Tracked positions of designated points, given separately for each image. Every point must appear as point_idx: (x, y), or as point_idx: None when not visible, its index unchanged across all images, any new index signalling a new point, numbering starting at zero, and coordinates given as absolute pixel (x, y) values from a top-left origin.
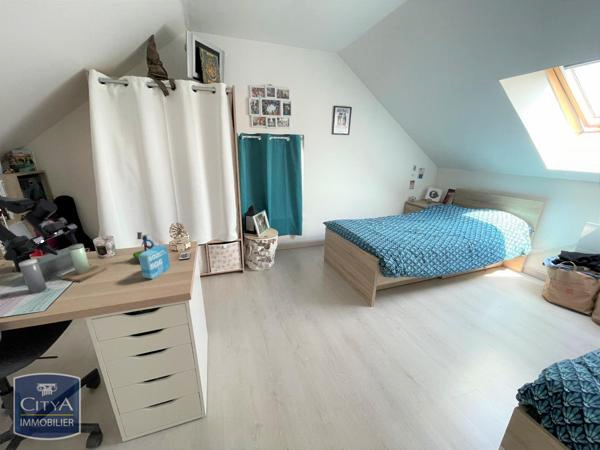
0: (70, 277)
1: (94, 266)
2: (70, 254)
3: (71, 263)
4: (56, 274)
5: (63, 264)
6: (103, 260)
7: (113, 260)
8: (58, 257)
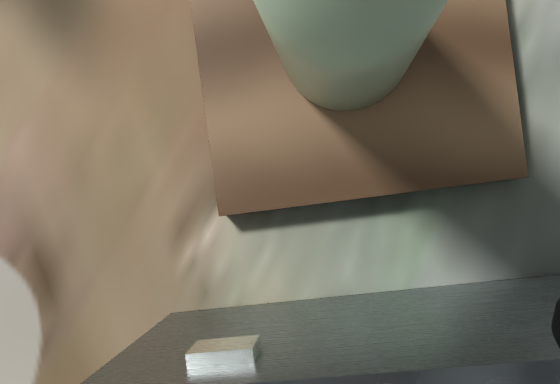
0: (489, 31)
1: (216, 76)
2: (281, 369)
3: (316, 317)
4: (494, 285)
5: (409, 319)
6: (69, 202)
7: (28, 99)
8: (476, 365)
